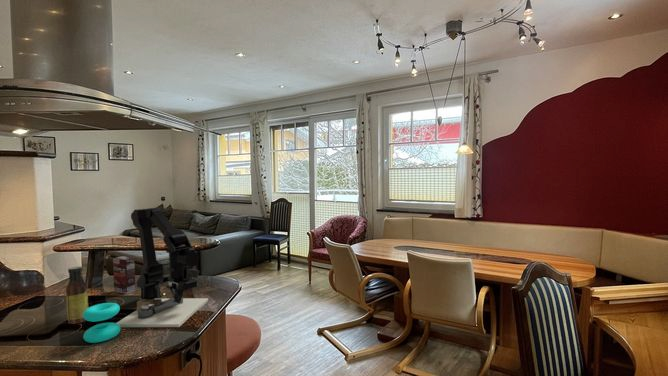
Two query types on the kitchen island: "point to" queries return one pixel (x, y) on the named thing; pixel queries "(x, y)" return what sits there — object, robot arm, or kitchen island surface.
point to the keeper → (147, 302)
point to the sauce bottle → (76, 296)
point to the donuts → (103, 329)
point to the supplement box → (124, 274)
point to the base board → (166, 315)
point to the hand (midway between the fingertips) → (178, 302)
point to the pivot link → (156, 308)
